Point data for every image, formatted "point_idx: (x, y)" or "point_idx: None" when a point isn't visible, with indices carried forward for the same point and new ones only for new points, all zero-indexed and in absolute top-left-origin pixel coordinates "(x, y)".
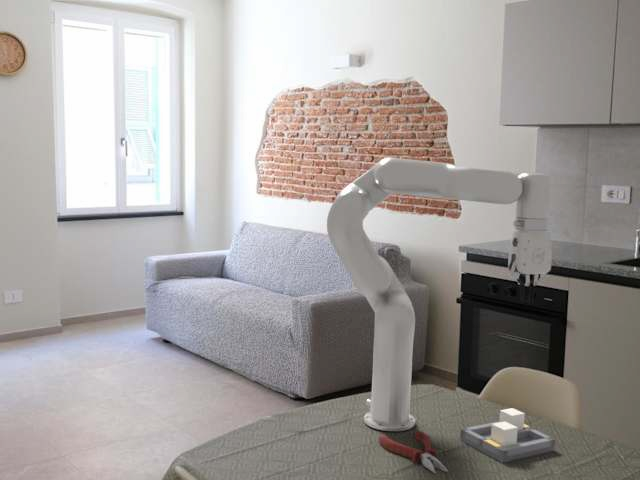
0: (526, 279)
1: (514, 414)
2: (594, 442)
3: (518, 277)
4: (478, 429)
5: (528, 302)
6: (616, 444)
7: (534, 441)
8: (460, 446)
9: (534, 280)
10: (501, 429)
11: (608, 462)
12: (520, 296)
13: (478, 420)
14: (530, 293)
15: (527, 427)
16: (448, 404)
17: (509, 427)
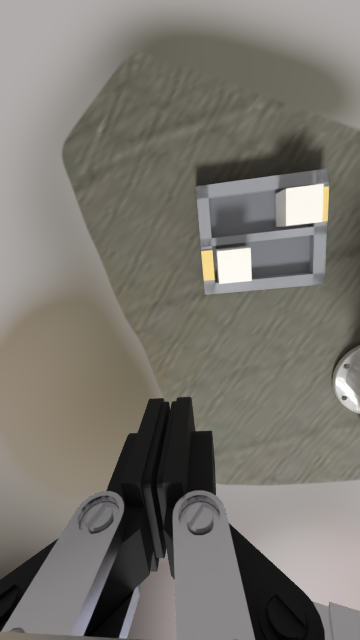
0: (229, 571)
1: (240, 252)
2: (105, 197)
3: (344, 635)
4: (292, 275)
5: (189, 397)
6: (74, 177)
7: (240, 189)
8: (335, 257)
9: (101, 545)
10: (322, 192)
11: (140, 112)
12: (213, 462)
13: (229, 339)
14: (173, 435)
15: (206, 250)
16: (230, 408)
17: (302, 193)
